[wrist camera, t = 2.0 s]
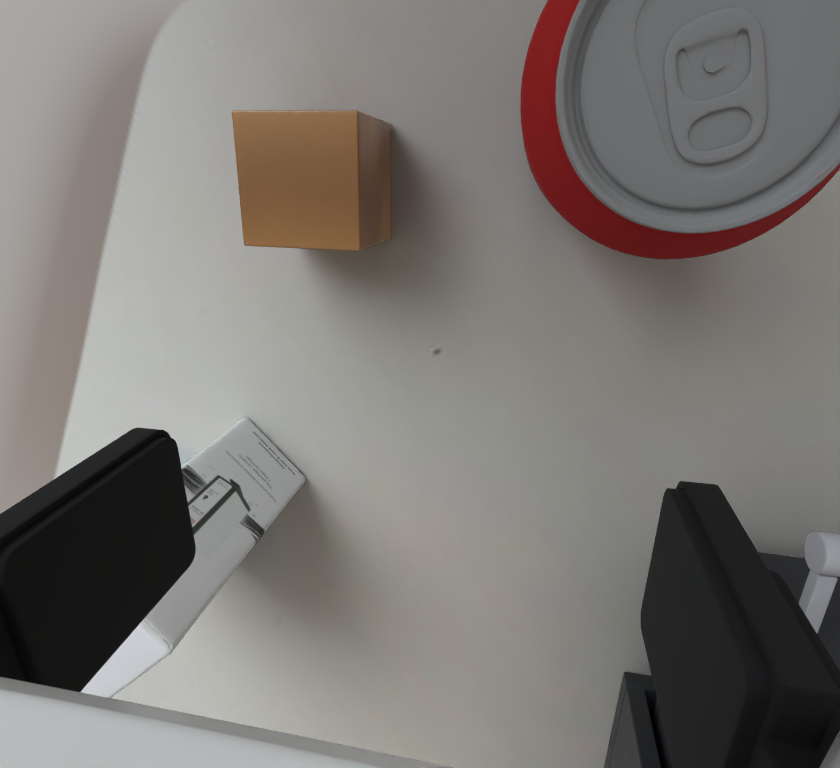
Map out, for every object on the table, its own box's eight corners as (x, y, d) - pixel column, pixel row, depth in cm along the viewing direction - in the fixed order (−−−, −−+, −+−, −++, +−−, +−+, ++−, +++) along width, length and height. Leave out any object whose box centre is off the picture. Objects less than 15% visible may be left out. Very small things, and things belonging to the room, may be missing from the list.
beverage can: (706, -3, 18) (966, -283, 7) (725, 199, 20) (951, 220, 9) (510, 64, 20) (479, -79, 9) (544, 244, 22) (553, 306, 11)
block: (286, 123, 22) (231, 110, 18) (391, 124, 22) (357, 110, 18) (293, 234, 24) (243, 245, 20) (391, 239, 23) (360, 251, 19)
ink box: (218, 555, 32) (53, 748, 21) (156, 495, 31) (-46, 663, 20) (312, 478, 28) (175, 660, 18) (245, 410, 28) (61, 555, 17)
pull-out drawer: (691, 456, 23) (763, 582, 16) (1040, 493, 21) (1311, 660, 14) (622, 760, 30) (650, 946, 22) (880, 812, 27) (1004, 1038, 20)
